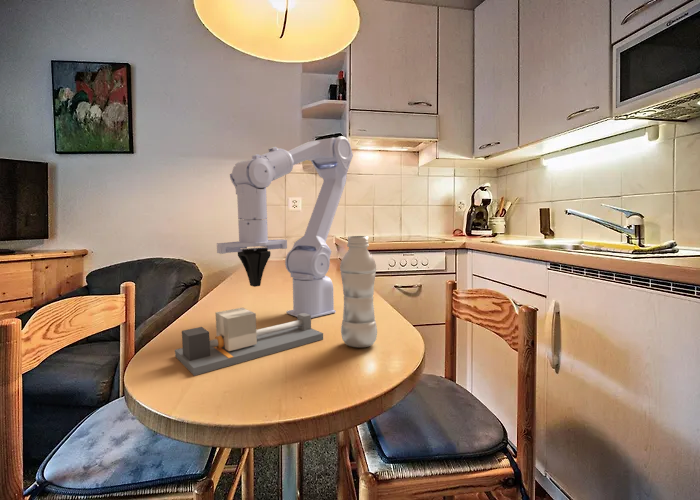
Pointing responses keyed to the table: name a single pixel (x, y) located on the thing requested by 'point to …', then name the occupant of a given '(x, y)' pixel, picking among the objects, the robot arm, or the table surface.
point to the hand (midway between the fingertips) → (255, 285)
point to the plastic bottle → (358, 294)
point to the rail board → (213, 355)
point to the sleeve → (236, 328)
